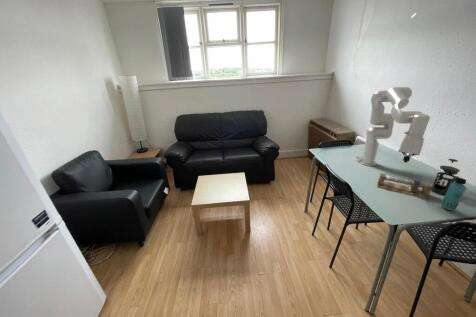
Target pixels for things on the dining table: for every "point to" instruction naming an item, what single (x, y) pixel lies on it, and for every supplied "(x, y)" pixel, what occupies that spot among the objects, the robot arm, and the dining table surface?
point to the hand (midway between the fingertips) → (405, 161)
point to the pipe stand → (404, 189)
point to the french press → (444, 184)
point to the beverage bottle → (454, 194)
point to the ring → (415, 184)
